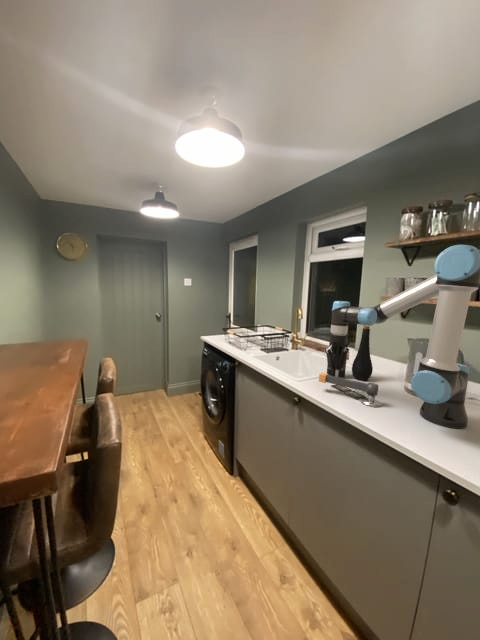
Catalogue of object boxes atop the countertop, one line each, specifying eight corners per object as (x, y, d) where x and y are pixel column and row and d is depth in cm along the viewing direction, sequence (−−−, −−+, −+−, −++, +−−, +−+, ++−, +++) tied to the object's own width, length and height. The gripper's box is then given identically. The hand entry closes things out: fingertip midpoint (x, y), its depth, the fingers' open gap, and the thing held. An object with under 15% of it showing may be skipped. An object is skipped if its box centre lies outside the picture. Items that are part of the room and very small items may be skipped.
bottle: (347, 378, 154) (352, 325, 150) (355, 374, 161) (361, 324, 157) (366, 383, 146) (372, 328, 142) (374, 379, 153) (380, 326, 150)
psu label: (351, 391, 134) (351, 389, 133) (342, 392, 131) (342, 390, 131) (339, 385, 141) (339, 383, 141) (330, 386, 139) (330, 385, 138)
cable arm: (378, 393, 120) (379, 384, 119) (376, 396, 116) (377, 387, 116) (321, 379, 134) (322, 371, 134) (318, 382, 130) (319, 373, 130)
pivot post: (385, 406, 118) (386, 396, 117) (371, 408, 114) (372, 398, 114) (369, 398, 125) (370, 389, 124) (356, 400, 122) (357, 391, 121)
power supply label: (366, 398, 125) (366, 396, 125) (356, 399, 123) (356, 398, 123) (353, 391, 133) (353, 390, 133) (343, 393, 130) (343, 391, 130)
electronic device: (342, 375, 157) (345, 341, 155) (345, 379, 152) (348, 343, 149) (325, 374, 158) (328, 340, 156) (328, 377, 152) (331, 342, 150)
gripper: (343, 332, 134) (339, 378, 137) (322, 332, 130) (318, 381, 132) (355, 335, 128) (350, 383, 130) (333, 335, 123) (328, 386, 125)
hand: (334, 382), depth 131 cm, fingers closed
